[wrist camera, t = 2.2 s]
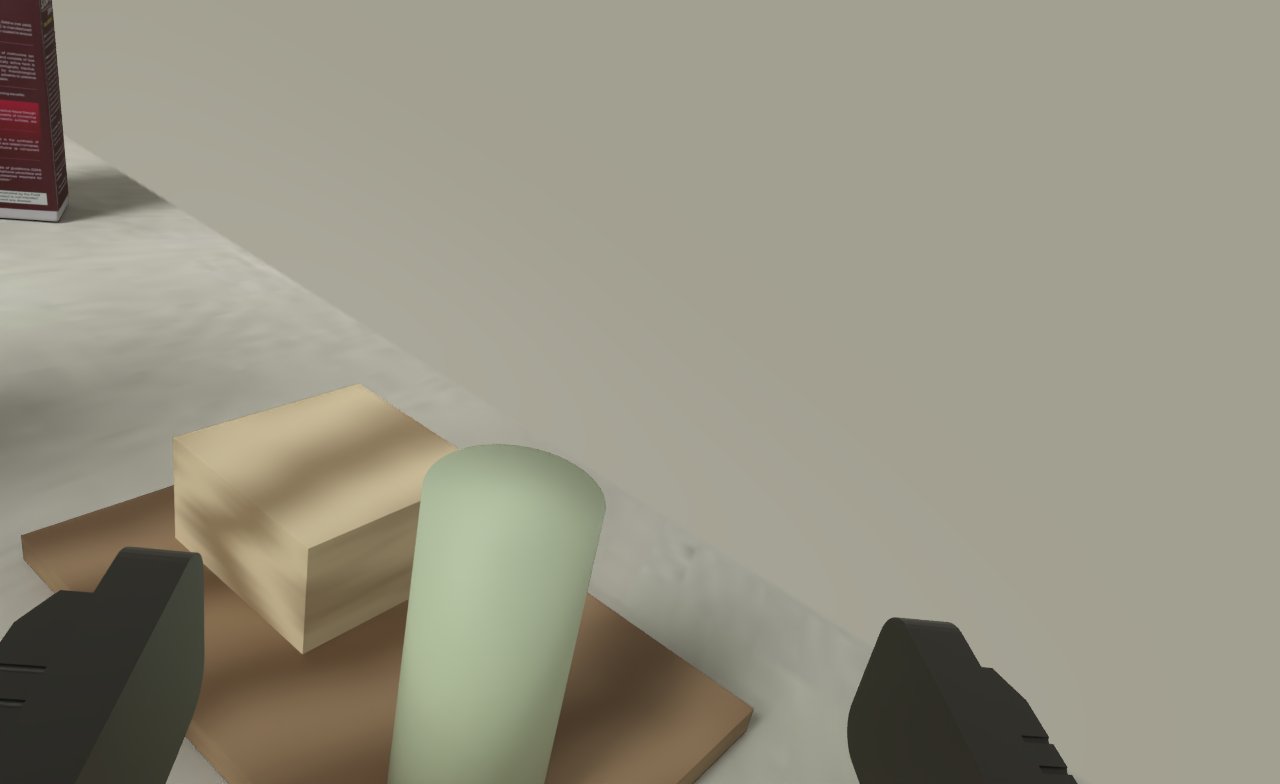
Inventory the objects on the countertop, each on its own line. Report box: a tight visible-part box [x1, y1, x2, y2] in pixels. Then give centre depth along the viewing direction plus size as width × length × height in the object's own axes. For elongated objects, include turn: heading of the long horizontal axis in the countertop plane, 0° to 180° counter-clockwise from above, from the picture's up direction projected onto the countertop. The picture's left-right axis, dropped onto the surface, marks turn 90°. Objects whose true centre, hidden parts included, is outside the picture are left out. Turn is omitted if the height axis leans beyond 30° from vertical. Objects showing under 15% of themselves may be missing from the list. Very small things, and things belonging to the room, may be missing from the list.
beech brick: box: [173, 384, 459, 654], centre depth 40 cm, size 9×9×5 cm
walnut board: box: [21, 485, 754, 784], centre depth 39 cm, size 26×16×1 cm, turn 52°
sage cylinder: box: [387, 444, 606, 784], centre depth 30 cm, size 5×5×12 cm
